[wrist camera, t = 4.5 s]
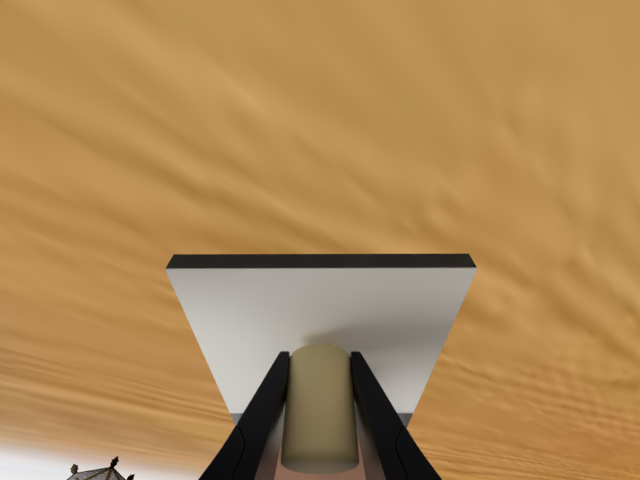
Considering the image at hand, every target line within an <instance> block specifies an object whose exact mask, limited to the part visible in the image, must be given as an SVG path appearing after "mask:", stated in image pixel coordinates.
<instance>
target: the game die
mask: <svg viewBox="0 0 640 480" xmlns="http://www.w3.org/2000/svg"><path fill="white" fill-rule="evenodd" d="M118 462H119V460H118V456H117V457H115V458H114V459H112V462H110V464H111V465H110V467H107V468H101V469H95V470H89V471H83V472H77V471H78V469H79V468H78V465H76V464H73V466H72V467H71V469H70V470H71V473H72V476H70V477H69V478H68V479H67V480H126V479H125V478H124V477H123V476H122V475H121V474H120V473H119V472H118V471H117V470H116V469H115V468H114V467H115V466H116V465H117V463H118ZM134 475H135V474H132V475H131V474H130V476H128V478H127V480H134Z"/></svg>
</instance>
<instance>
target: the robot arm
mask: <svg viewBox="0 0 640 480" xmlns="http://www.w3.org/2000/svg"><path fill="white" fill-rule="evenodd" d="M350 359H351V371H352V383H353V393H354V404H355V416H356V428H357V433H358V439H359V444H360V449H361V455H362V460H363V466H364V471H365V477H366V480H442V479H441V477H440V476H439V475H438V473H437V472H436V471H435V469H434V468H433V467H432V465H431V464H430V463H429V461H428V460H427V458H426V457H425V456H424V454H423V453H422V451H421V450H420V449H419V447H418V446H417V444H416V443H415V441H414V439H413V438H412V436H411V435H410V433H409V431H408V430H407V428H406V427H405V425H403V422H402V420H401V419H400V417H399V415H398V414H397V412H396V410H395V409H394V407H393V405H392V404H391V402H390V400H389V399H388V397H387V395H386V394H385V392H384V390H383V389H382V387H381V385H380V384H379V382H378V380H377V379H376V377H375V375H374V374H373V372H372V370H371V369H370V367H369V365H368V364H367V362H366V360H365V359H364V357H363V356H362V354H361V352H359V351H351V353H350ZM289 361H290V352H289V351H281V352H280V353H279V354H278V356H277V358H276V359H275V361H274V362H273V364H272V366H271V367H270V369H269V371H268V372H267V374H266V376H265V377H264V379H263V381H262V382H261V384H260V386H259V387H258V389H257V391H256V392H255V394H254V396H253V397H252V399H251V401H250V402H249V404H248V406H247V407H246V409H245V411H244V412H243V414H242V416H241V417H240V419H239V421H238V422H237V425H235V427H234V429H233V430H232V432H231V434H230V435H229V437H228V438H227V440H226V441H225V443H224V445H223V446H222V448H221V449H220V450H219V452H218V453H217V455H216V456H215V457H214V459H213V460H212V462H211V463H210V464H209V466H208V467H207V468H206V470H205V471H204V472H203V474H202V475H201V476H200V478H199V479H198V480H274V478H275V472H276V467H277V461H278V456H279V451H280V445H281V440H282V434H283V428H284V417H285V405H286V394H287V384H288V373H289Z"/></svg>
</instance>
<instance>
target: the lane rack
mask: <svg viewBox="0 0 640 480" xmlns="http://www.w3.org/2000/svg"><path fill="white" fill-rule="evenodd" d="M477 269H478V268H477V267H476V265H475V263H474V262H473V260H472V258H471V256H470V255H469V254H173V256H172V258H171V260H170V261H169V263H168V265H167V267H166V268H165V271H166V273H167V275H168V277H169V280H170V282H171V284H172V286H173V288H174V291H175V293H176V295H177V297H178V299H179V302H180V304H181V306H182V308H183V310H184V313H185V315H186V317H187V319H188V321H189V324H190V326H191V328H192V330H193V333H194V335H195V337H196V339H197V341H198V344H199V346H200V348H201V350H202V352H203V355H204V357H205V359H206V361H207V363H208V366H209V368H210V370H211V372H212V375H213V377H214V379H215V381H216V383H217V386H218V388H219V390H220V392H221V394H222V397H223V399H224V401H225V403H226V405H227V408H228V410H229V412H230V414H231V416H232V419H233V421H234V423H235V425H237V422H238V421H239V419H240V417H241V416H242V414H243V412H244V411H245V409H246V407H247V406H248V404H249V402H250V401H251V399H252V397H253V396H254V394H255V392H256V391H257V389H258V387H259V386H260V384H261V382H262V381H263V379H264V377H265V376H266V374H267V372H268V371H269V369H270V367H271V366H272V364H273V362H274V361H275V359H276V358H277V356H278V354H279V353H280V352H281V351H289V352H290V356H291V354H292V353H293V352H294V351H295V350H297V349H299V348H301V347H303V346H306V345H311V344H329V345H334V346H337V347H339V348H341V349H343V350H345V351H346V352H347V353H348V354H349V356H350V353H351V351H359V352H361V354H362V356H363V357H364V359H365V360H366V362H367V364H368V365H369V367H370V369H371V370H372V372H373V374H374V375H375V377H376V379H377V380H378V382H379V384H380V385H381V387H382V389H383V390H384V392H385V394H386V395H387V397H388V399H389V400H390V402H391V404H392V405H393V407H394V409H395V410H396V412H397V414H398V415H399V417H400V419H401V420H402V422H403V425H405V427H406V428H407V426H408V424H409V422H410V420H411V417H412V415H413V413H414V411H415V408H416V406H417V404H418V402H419V399H420V397H421V395H422V393H423V390H424V388H425V386H426V384H427V381H428V379H429V377H430V375H431V372H432V370H433V368H434V366H435V363H436V361H437V359H438V357H439V354H440V352H441V350H442V348H443V345H444V343H445V341H446V338H447V336H448V334H449V332H450V329H451V327H452V325H453V323H454V320H455V318H456V316H457V314H458V311H459V309H460V307H461V305H462V302H463V300H464V298H465V296H466V293H467V291H468V289H469V287H470V284H471V282H472V280H473V278H474V275H475V273H476V271H477Z"/></svg>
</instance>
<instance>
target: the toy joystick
mask: <svg viewBox="0 0 640 480" xmlns="http://www.w3.org/2000/svg"><path fill="white" fill-rule="evenodd" d="M274 480H366V477H365V471H364V466H363V460H362V455H361V449H360V444H359V439H358V433H357V428H356V416H355V404H354V393H353V383H352V371H351V359H350V356H349V354H348V353H347V352H346V351H345V350H343V349H341V348H339V347H337V346H334V345H329V344H311V345H306V346H303V347H301V348H299V349H297V350H295V351H294V352H293V353H292V354H291V356H290V361H289V373H288V384H287V394H286V405H285V417H284V428H283V434H282V440H281V445H280V451H279V456H278V461H277V467H276V472H275V478H274Z"/></svg>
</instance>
